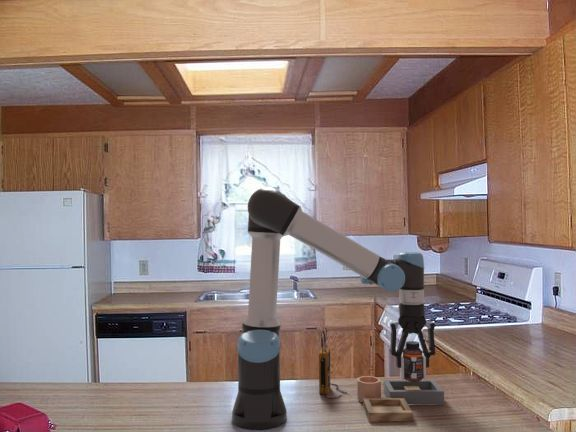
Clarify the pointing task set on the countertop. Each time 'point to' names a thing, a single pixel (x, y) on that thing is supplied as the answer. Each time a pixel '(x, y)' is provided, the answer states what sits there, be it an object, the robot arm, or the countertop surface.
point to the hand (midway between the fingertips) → (412, 377)
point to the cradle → (415, 391)
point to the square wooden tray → (387, 409)
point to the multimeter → (325, 369)
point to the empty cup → (368, 387)
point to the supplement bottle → (413, 362)
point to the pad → (411, 388)
